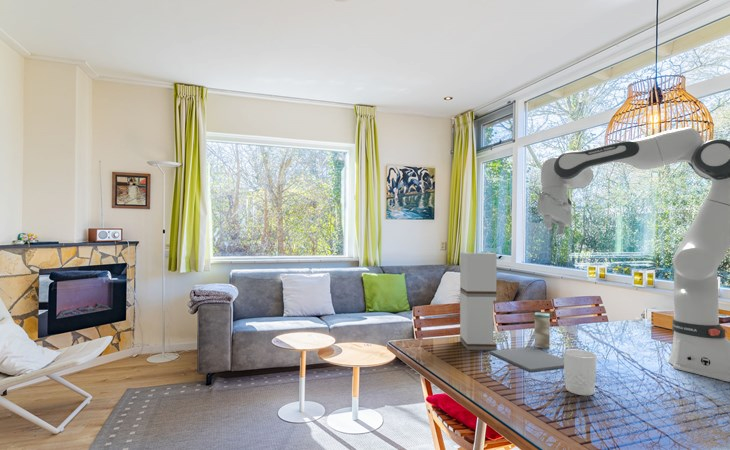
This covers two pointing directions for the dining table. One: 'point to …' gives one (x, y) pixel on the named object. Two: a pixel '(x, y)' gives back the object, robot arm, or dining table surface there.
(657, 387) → the dining table surface
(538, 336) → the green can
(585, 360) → the white cup
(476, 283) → the grey square tower
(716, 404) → the dining table surface
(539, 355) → the rubber mat
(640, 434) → the dining table surface
